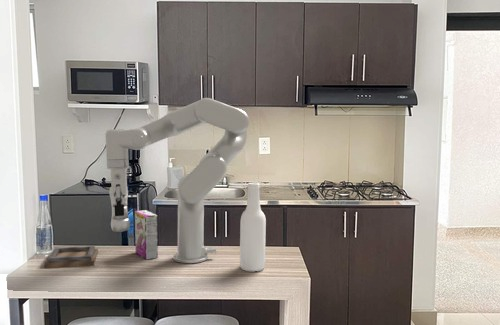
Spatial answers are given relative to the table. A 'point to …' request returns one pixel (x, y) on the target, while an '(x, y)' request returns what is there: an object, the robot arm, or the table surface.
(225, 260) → the table surface
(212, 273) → the table surface
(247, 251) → the alcohol
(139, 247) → the candy bar box
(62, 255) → the brown wooden tray
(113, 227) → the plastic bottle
